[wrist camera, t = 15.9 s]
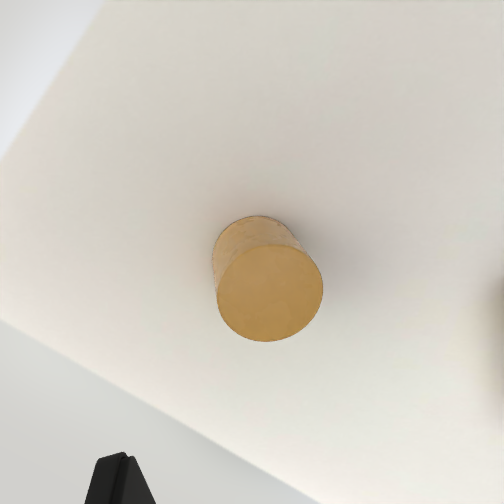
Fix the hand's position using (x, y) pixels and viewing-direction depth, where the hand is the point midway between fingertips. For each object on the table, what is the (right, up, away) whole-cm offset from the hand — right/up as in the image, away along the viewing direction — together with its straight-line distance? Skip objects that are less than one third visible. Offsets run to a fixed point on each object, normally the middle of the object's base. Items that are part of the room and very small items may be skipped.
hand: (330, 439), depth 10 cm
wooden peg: (-2, +4, +11) cm, 12 cm away
